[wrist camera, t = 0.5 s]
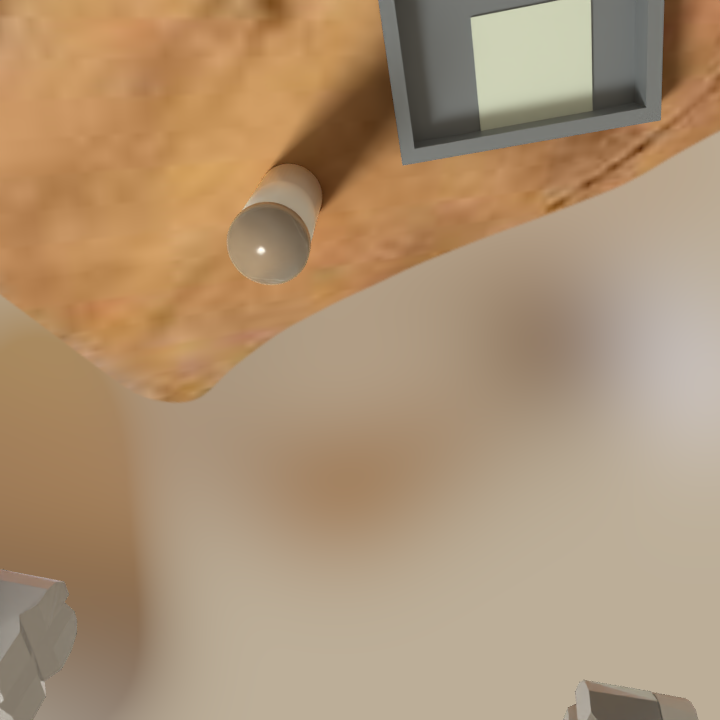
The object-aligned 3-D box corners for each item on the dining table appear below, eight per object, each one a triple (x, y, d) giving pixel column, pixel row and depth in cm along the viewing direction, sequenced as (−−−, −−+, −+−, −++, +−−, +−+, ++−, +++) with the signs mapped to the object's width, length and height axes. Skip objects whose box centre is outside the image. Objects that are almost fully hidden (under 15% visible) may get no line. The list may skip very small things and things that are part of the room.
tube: (250, 168, 52) (216, 212, 41) (316, 156, 51) (299, 198, 41) (266, 233, 54) (239, 290, 44) (329, 222, 54) (317, 278, 43)
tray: (372, -40, 45) (372, -42, 43) (649, -98, 43) (667, -104, 41) (401, 156, 51) (402, 165, 49) (645, 113, 49) (660, 120, 47)
